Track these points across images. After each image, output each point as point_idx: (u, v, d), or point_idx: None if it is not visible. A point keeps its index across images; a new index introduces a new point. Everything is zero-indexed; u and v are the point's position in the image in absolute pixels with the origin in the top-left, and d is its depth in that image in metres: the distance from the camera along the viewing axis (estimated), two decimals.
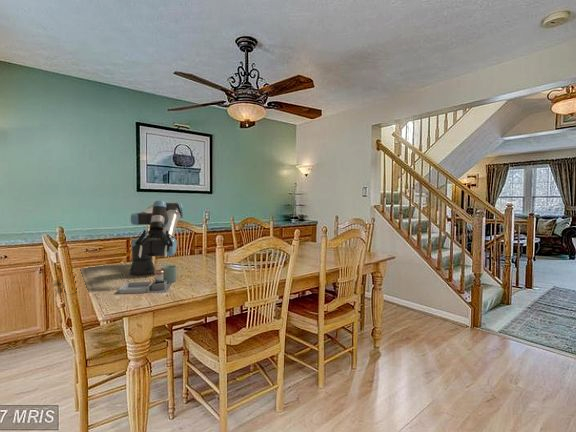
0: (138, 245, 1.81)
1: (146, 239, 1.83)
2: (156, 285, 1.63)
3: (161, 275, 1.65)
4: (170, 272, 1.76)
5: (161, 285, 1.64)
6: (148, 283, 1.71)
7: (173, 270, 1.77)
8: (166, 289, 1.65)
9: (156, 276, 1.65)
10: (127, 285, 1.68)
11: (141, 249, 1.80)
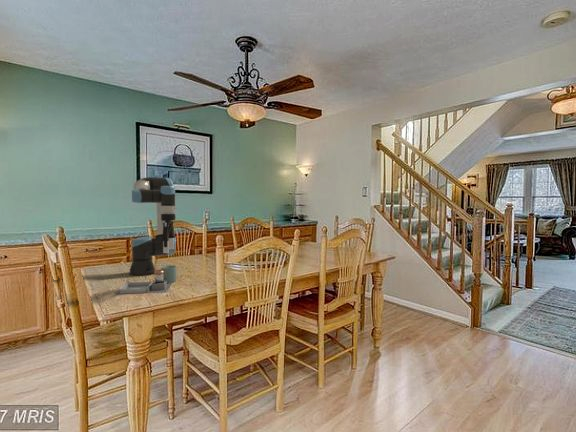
0: (166, 241, 1.71)
1: (169, 233, 1.74)
2: (156, 285, 1.63)
3: (161, 275, 1.65)
4: (170, 272, 1.76)
5: (161, 285, 1.64)
6: (148, 283, 1.71)
7: (173, 270, 1.77)
8: (166, 289, 1.65)
9: (156, 276, 1.65)
10: (127, 285, 1.68)
11: None
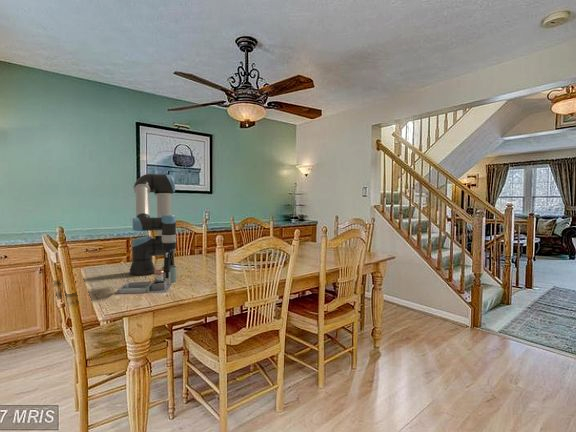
0: (168, 272, 1.73)
1: (170, 263, 1.76)
2: (156, 285, 1.63)
3: (161, 275, 1.65)
4: (170, 272, 1.76)
5: (161, 285, 1.64)
6: (148, 283, 1.71)
7: (173, 270, 1.77)
8: (166, 289, 1.65)
9: (156, 276, 1.65)
10: (127, 285, 1.68)
11: None
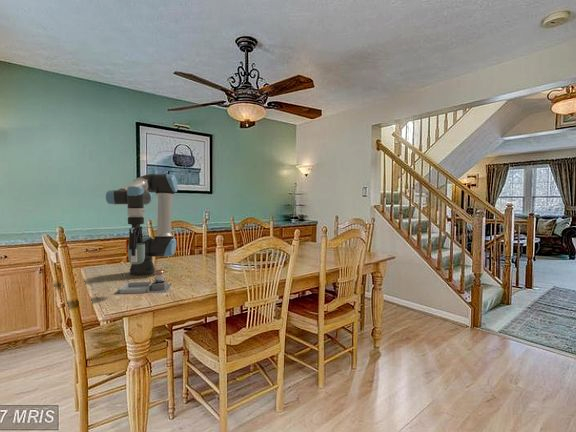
0: (134, 249, 1.58)
1: (137, 239, 1.61)
2: (156, 285, 1.63)
3: (161, 275, 1.65)
4: (137, 250, 1.60)
5: (161, 285, 1.64)
6: (148, 283, 1.71)
7: (140, 248, 1.62)
8: (166, 289, 1.65)
9: (156, 276, 1.65)
10: (127, 285, 1.68)
11: None
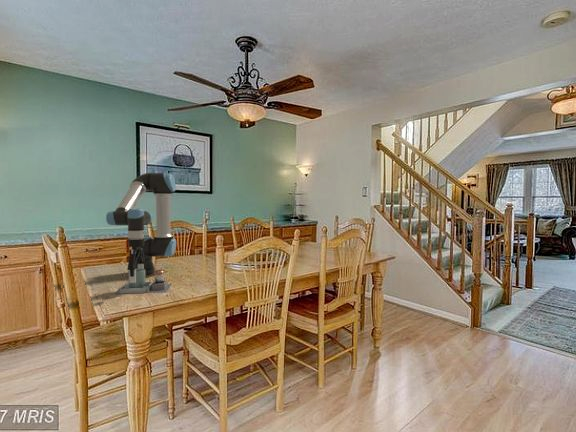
0: (133, 270, 1.56)
1: (136, 261, 1.60)
2: (156, 285, 1.63)
3: (161, 275, 1.65)
4: (138, 276, 1.61)
5: (161, 285, 1.64)
6: (148, 283, 1.71)
7: (141, 274, 1.62)
8: (166, 289, 1.65)
9: (156, 276, 1.65)
10: (127, 285, 1.68)
11: None
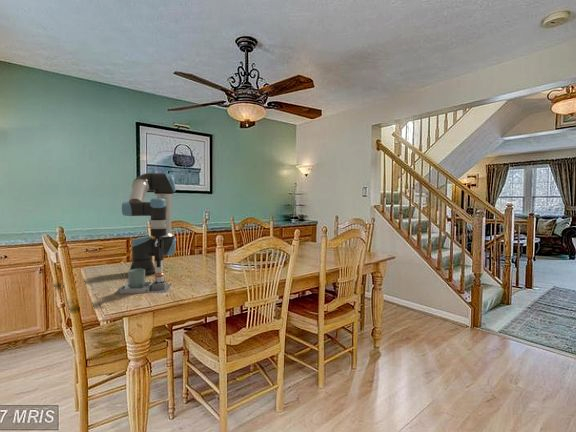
0: (159, 261, 1.64)
1: (161, 251, 1.65)
2: (156, 285, 1.63)
3: (161, 277, 1.65)
4: (138, 276, 1.61)
5: (161, 285, 1.64)
6: (148, 283, 1.71)
7: (141, 274, 1.62)
8: (166, 289, 1.65)
9: (156, 278, 1.65)
10: (127, 285, 1.68)
11: None
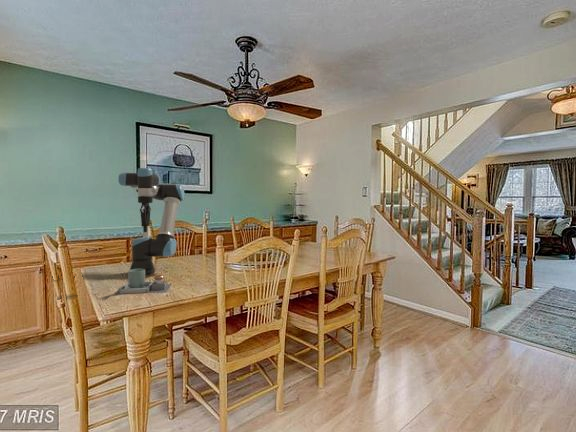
0: (146, 226, 1.77)
1: (147, 217, 1.78)
2: (156, 285, 1.63)
3: (161, 280, 1.65)
4: (138, 276, 1.61)
5: (161, 285, 1.64)
6: (148, 283, 1.71)
7: (141, 274, 1.62)
8: (166, 289, 1.65)
9: (156, 281, 1.65)
10: (127, 285, 1.68)
11: None
